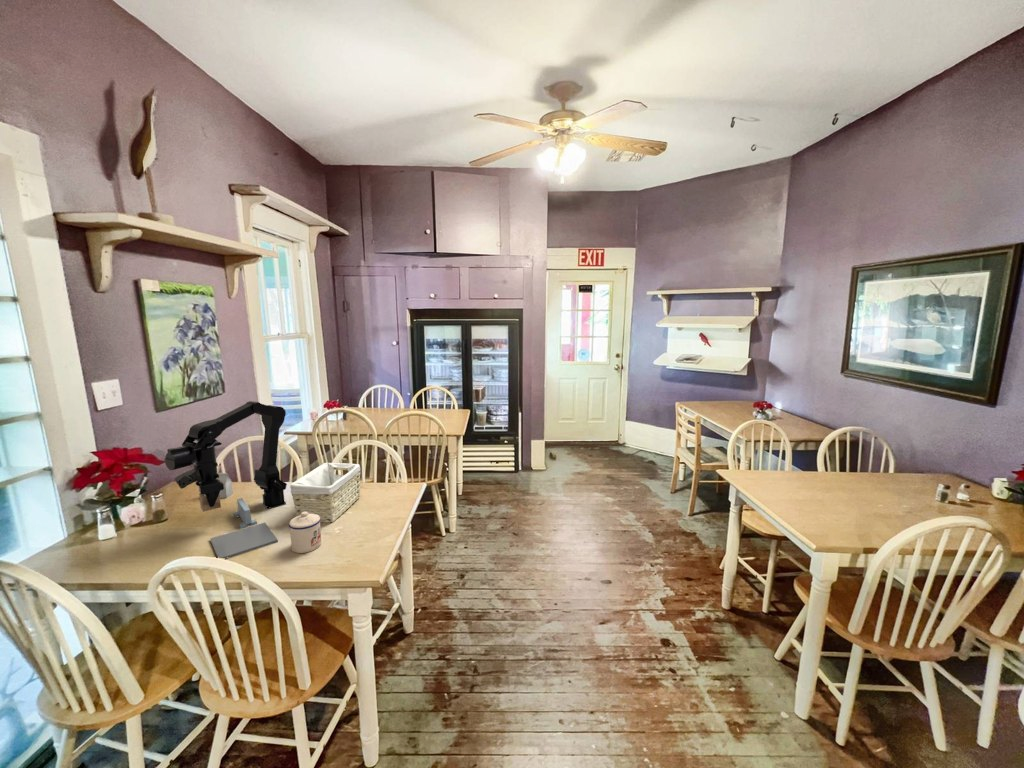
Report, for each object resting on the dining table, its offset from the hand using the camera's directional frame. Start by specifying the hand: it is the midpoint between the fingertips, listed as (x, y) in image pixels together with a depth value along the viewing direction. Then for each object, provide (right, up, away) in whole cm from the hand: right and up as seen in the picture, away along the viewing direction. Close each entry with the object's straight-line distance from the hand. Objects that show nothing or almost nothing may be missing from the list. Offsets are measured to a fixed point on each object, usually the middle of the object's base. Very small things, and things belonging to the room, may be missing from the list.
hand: (210, 504), depth 141 cm
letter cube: (0, -1, 0) cm, 1 cm away
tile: (+15, -11, -6) cm, 20 cm away
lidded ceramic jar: (+37, -11, -7) cm, 40 cm away
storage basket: (+33, -7, +18) cm, 38 cm away
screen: (+6, -8, +9) cm, 14 cm away
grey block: (-16, -5, +29) cm, 33 cm away
